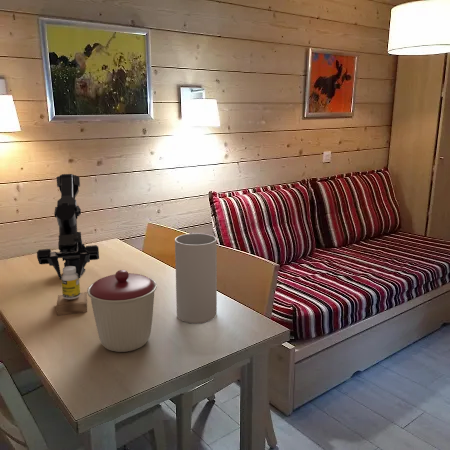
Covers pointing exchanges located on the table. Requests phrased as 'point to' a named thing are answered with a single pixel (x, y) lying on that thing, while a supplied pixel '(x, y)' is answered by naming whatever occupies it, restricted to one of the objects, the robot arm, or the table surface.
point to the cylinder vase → (196, 277)
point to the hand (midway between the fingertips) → (69, 278)
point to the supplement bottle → (70, 283)
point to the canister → (123, 310)
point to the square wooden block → (71, 304)
